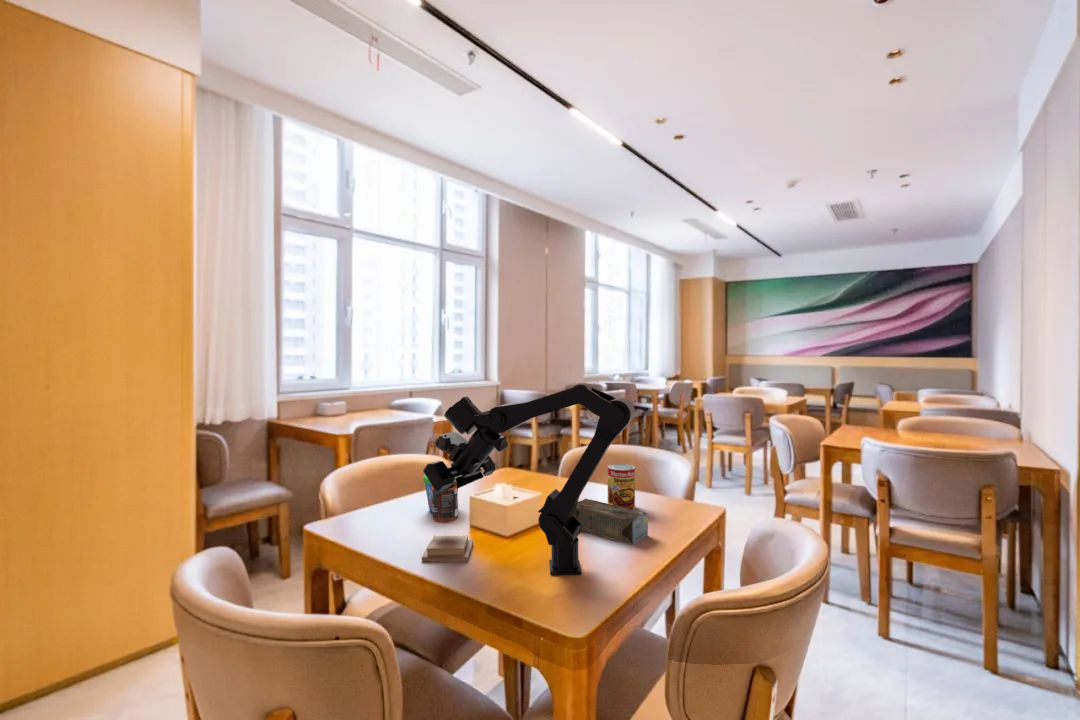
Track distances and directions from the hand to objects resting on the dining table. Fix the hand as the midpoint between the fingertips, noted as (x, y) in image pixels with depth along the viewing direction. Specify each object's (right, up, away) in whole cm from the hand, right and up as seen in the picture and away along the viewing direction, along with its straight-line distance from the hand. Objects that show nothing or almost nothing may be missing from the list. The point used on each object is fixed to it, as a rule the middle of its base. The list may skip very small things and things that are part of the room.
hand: (443, 491), depth 122 cm
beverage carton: (+40, -13, +10) cm, 43 cm away
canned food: (+46, -12, +29) cm, 56 cm away
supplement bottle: (0, -7, 0) cm, 7 cm away
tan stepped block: (+2, -13, -4) cm, 14 cm away
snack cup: (-6, -13, +28) cm, 31 cm away
